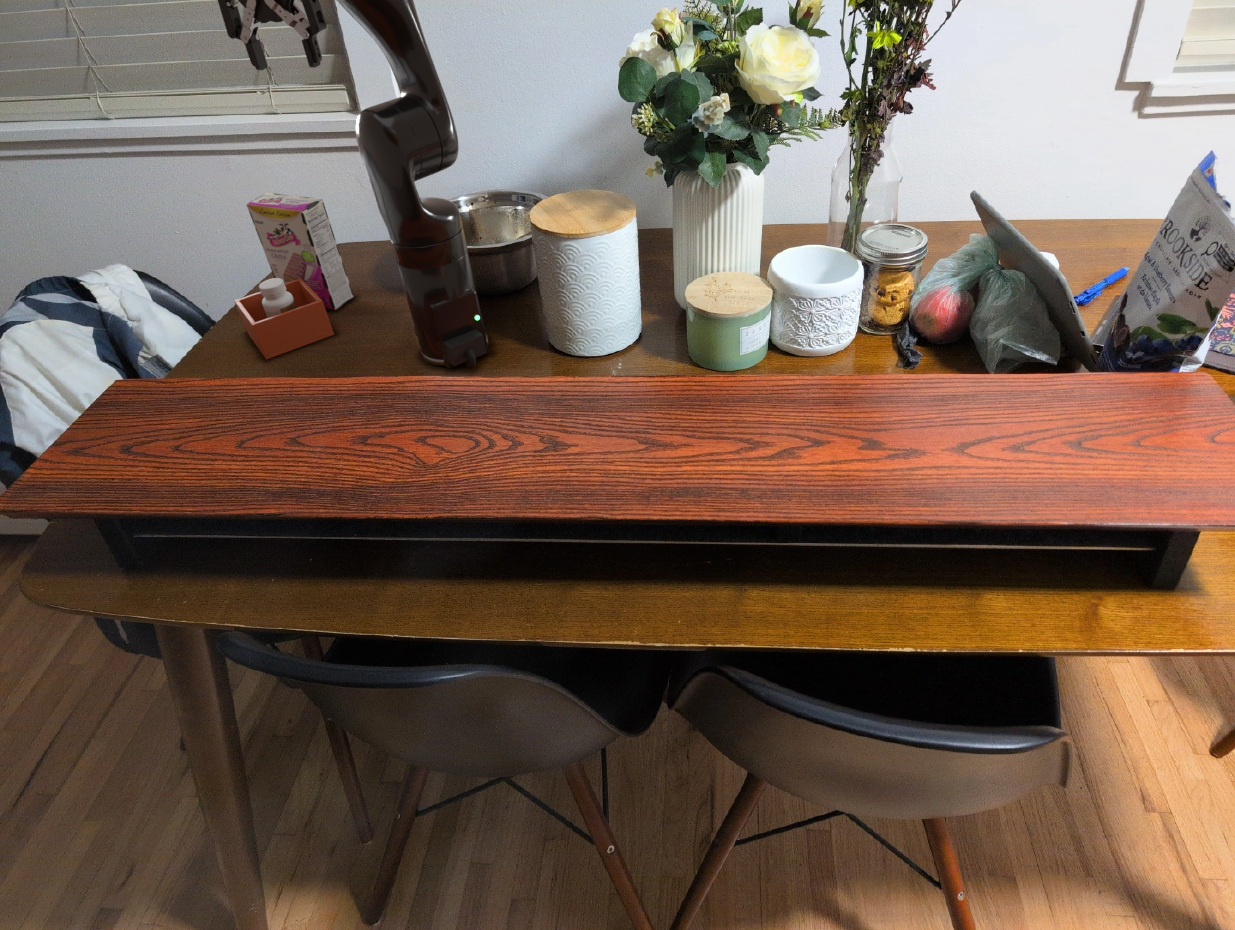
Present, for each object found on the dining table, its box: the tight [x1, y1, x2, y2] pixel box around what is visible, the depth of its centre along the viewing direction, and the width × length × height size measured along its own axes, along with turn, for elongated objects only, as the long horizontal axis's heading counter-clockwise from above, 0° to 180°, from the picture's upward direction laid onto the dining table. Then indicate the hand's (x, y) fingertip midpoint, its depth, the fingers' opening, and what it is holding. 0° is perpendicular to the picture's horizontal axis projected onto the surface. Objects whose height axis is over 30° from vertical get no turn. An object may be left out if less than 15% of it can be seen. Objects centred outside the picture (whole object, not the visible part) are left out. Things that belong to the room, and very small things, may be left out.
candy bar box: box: [245, 192, 354, 311], centre depth 130 cm, size 11×5×16 cm, turn 65°
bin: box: [233, 278, 335, 360], centre depth 125 cm, size 10×10×6 cm
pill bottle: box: [258, 277, 297, 318], centre depth 124 cm, size 4×4×8 cm
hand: (289, 67), depth 123 cm, fingers open, 8 cm apart
